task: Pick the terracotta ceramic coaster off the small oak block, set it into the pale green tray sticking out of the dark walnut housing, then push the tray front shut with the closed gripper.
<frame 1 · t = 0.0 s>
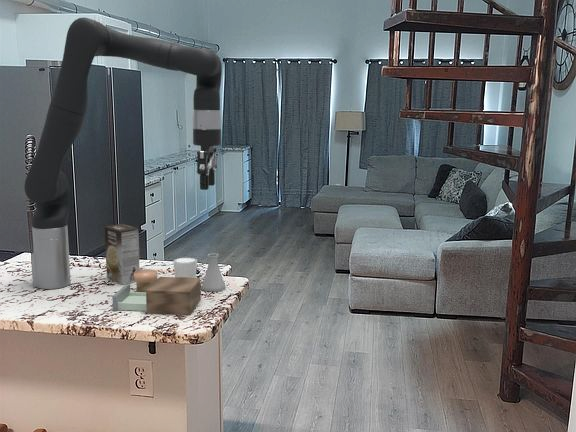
hand: (207, 187, 157), 29 cm above the countertop, fingers open, 8 cm apart
housing: (174, 306, 149), on the countertop
coffee box: (123, 280, 171), on the countertop
flask: (213, 289, 164), on the countertop
pedestal: (146, 291, 160), on the countertop
tray: (140, 297, 149), point 2 cm above the countertop, slide at 7.5 cm
coaster: (145, 279, 160), point 3 cm above the countertop, touching pedestal
white cup: (185, 283, 169), on the countertop
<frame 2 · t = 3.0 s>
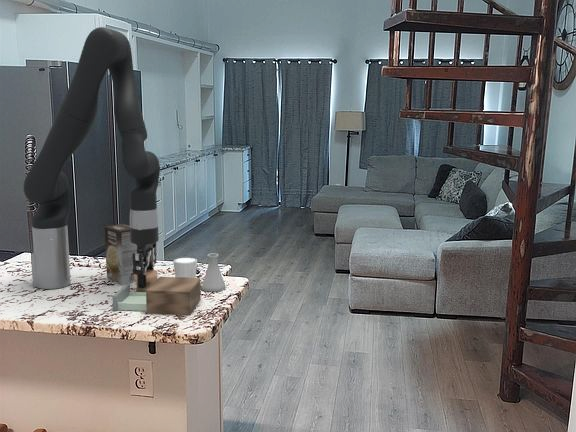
hand: (146, 283, 160), 2 cm above the countertop, fingers closed on coaster, 6 cm apart
coaster: (145, 279, 160), point 4 cm above the countertop, touching gripper, pedestal
everything else where it was.
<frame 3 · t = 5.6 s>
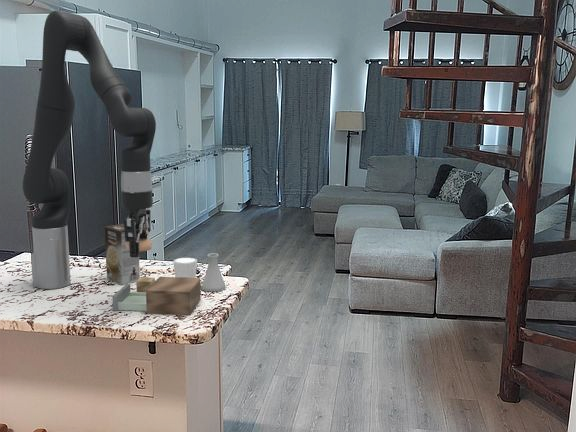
hand: (139, 253, 147), 14 cm above the countertop, fingers closed on coaster, 6 cm apart
coaster: (139, 248, 147), point 15 cm above the countertop, touching gripper
everything else where it was.
when the fingers open (2 cm above the countertop, at t = 8.1 s): coaster drops 3 cm, resting on tray.
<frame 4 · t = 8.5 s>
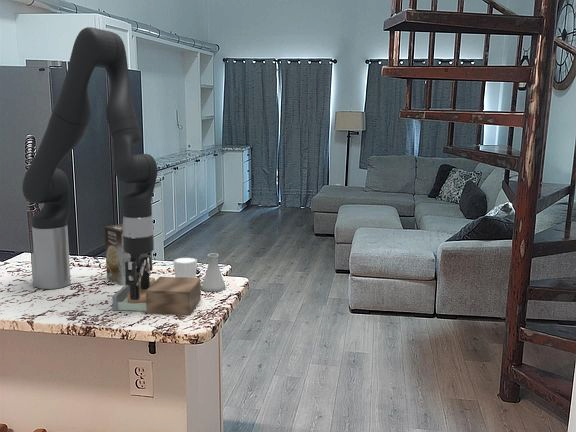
hand: (140, 294, 149), 3 cm above the countertop, fingers open, 8 cm apart
tray: (140, 297, 149), point 2 cm above the countertop, slide at 7.5 cm, touching coaster
coaster: (140, 300, 149), point 1 cm above the countertop, touching tray
everything else where it was.
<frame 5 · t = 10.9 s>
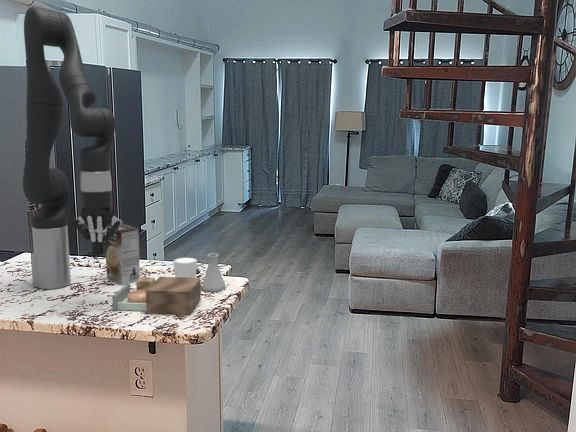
hand: (99, 255, 148), 13 cm above the countertop, fingers closed
nothing on the countertop moved.
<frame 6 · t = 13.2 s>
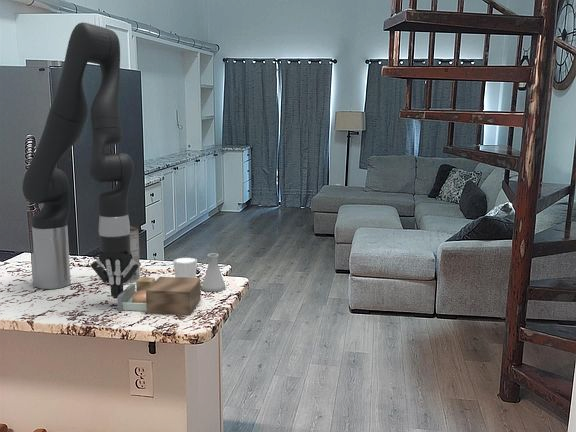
hand: (117, 297, 149), 2 cm above the countertop, fingers closed
tray: (145, 297, 149), point 2 cm above the countertop, slide at 6.2 cm, touching coaster, gripper
coaster: (145, 301, 149), point 1 cm above the countertop, touching tray
everything else where it was.
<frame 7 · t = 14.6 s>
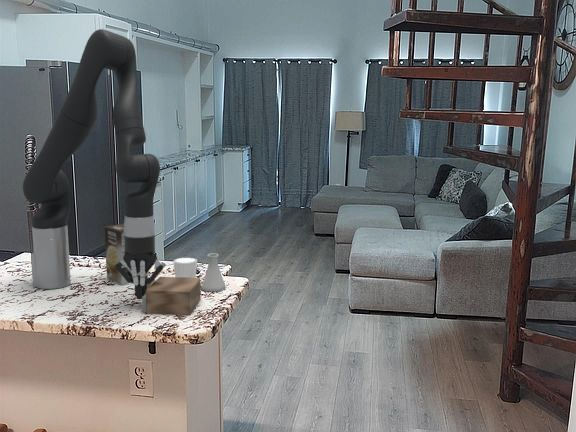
hand: (141, 298, 149), 2 cm above the countertop, fingers closed
tray: (169, 298, 149), point 2 cm above the countertop, slide at -0.1 cm, touching coaster, gripper
coaster: (169, 302, 149), point 1 cm above the countertop, touching tray
everything else where it was.
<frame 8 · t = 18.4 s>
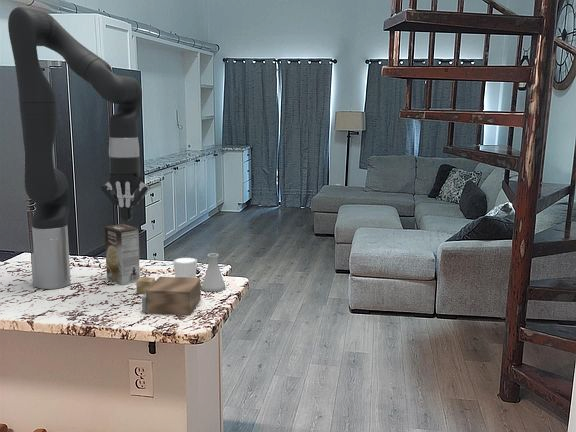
hand: (126, 220, 152), 21 cm above the countertop, fingers closed
tray: (169, 298, 149), point 2 cm above the countertop, slide at 0.0 cm, touching coaster
everything else where it was.
at the end: tray slide at 0.0 cm; coaster inside the target area on the housing (1.5 cm from its centre), point 1.1 cm above the housing's base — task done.
